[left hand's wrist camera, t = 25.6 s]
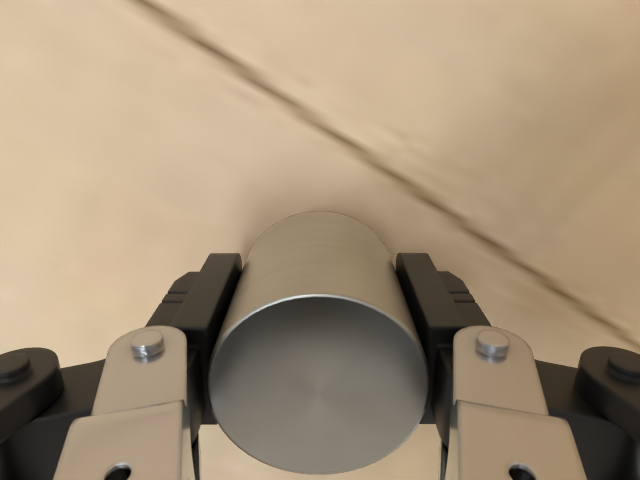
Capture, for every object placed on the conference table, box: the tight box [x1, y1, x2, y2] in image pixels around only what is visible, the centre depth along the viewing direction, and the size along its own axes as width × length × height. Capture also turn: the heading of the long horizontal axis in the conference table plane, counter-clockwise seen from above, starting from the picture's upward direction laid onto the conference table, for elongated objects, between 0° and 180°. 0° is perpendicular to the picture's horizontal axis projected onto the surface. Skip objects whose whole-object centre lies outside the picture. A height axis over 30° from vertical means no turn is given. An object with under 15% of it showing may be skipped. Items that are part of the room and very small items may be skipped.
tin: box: [206, 211, 431, 475], centre depth 10 cm, size 4×4×4 cm
